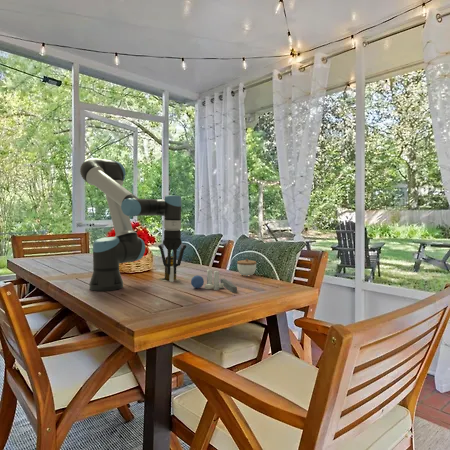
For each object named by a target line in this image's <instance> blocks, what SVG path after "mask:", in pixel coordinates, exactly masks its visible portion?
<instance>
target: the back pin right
mask: <svg viewBox="0 0 450 450" xmlns="http://www.w3.org/2000/svg"><path fill="white" fill-rule="evenodd" d="M219 283H220V271H218V270H215V271H213V284H214V289H213V290H214V291H220V289H219Z"/></svg>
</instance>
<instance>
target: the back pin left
mask: <svg viewBox="0 0 450 450" xmlns="http://www.w3.org/2000/svg"><path fill="white" fill-rule="evenodd" d="M206 274H207V276H206V284H213V269H206Z"/></svg>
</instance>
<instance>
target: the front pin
mask: <svg viewBox="0 0 450 450" xmlns="http://www.w3.org/2000/svg"><path fill="white" fill-rule="evenodd" d="M224 288H225V287H224V284H223V283H221V282H219V290H220V289H224ZM204 289H205V290H214V283H212V284H207V283H206V284H205V283H204Z"/></svg>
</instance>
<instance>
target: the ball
mask: <svg viewBox="0 0 450 450" xmlns="http://www.w3.org/2000/svg"><path fill="white" fill-rule="evenodd" d="M204 282H205V280H204V278H203V277H202V276H201V275H194V276H192V278H191V280H190V285H191V287H193V288H194V289H201V288H202V287H203V285H205V283H204Z"/></svg>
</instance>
